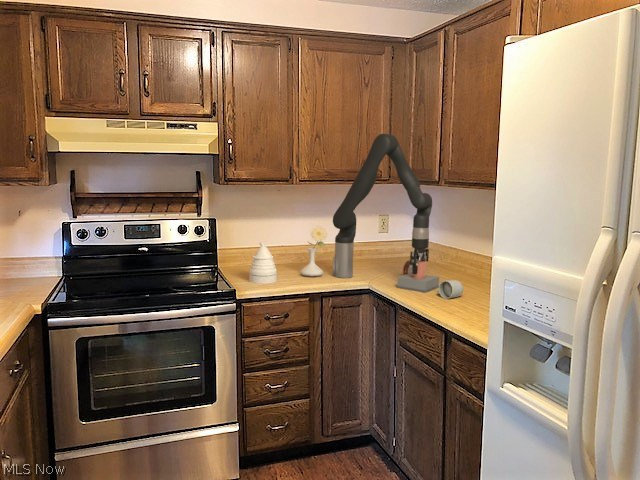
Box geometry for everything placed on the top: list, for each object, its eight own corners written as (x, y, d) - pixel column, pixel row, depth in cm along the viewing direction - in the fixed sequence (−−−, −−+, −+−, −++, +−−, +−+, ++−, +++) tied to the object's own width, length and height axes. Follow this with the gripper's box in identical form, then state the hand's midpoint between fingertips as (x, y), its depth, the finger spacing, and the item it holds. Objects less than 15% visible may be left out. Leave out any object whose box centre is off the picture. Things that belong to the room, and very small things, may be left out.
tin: (417, 273, 278) (417, 257, 277) (422, 274, 276) (423, 258, 275) (402, 278, 266) (402, 261, 265) (407, 279, 264) (408, 262, 263)
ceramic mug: (464, 297, 228) (465, 280, 227) (452, 300, 223) (453, 282, 222) (444, 293, 236) (445, 276, 235) (432, 295, 231) (432, 278, 230)
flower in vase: (297, 277, 263) (298, 226, 260) (303, 272, 274) (304, 224, 271) (323, 278, 260) (324, 227, 257) (328, 274, 271) (329, 225, 268)
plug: (411, 285, 245) (412, 255, 243) (416, 283, 248) (417, 254, 247) (420, 287, 242) (421, 256, 240) (424, 285, 246) (426, 255, 244)
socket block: (397, 287, 244) (397, 277, 243) (411, 282, 255) (411, 272, 254) (425, 292, 236) (426, 281, 235) (438, 287, 247) (439, 276, 246)
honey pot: (246, 278, 258) (246, 241, 255) (272, 277, 262) (272, 240, 260) (253, 284, 246) (253, 245, 243) (280, 282, 250) (280, 244, 248)
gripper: (419, 235, 250) (418, 269, 252) (405, 238, 239) (404, 273, 241) (434, 236, 246) (433, 271, 248) (421, 239, 234) (419, 276, 237)
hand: (418, 272), depth 245 cm, fingers open, 8 cm apart
